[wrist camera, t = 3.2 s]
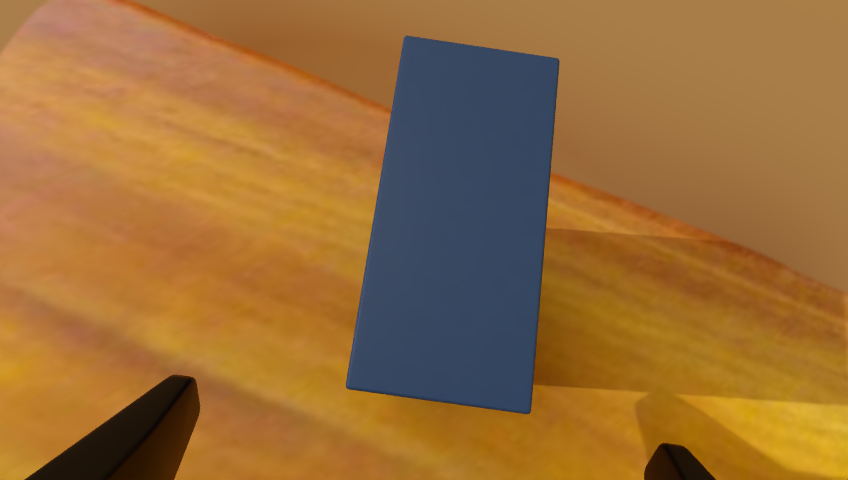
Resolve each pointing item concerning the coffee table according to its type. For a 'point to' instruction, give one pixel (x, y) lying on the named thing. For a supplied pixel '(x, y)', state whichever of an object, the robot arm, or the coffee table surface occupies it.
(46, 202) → the coffee table surface
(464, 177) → the blue block
